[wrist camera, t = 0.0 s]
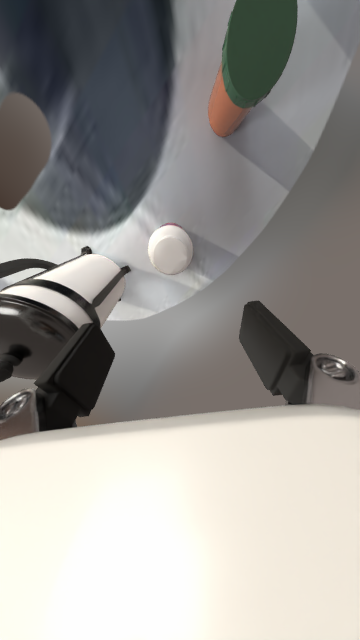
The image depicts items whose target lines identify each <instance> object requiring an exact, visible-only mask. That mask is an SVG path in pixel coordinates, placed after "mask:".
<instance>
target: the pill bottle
mask: <svg viewBox="0 0 360 640" xmlns="http://www.w3.org/2000/svg"><path fill="white" fill-rule="evenodd" d="M148 255H149V258H150V261H151V263H152V264H153V266H154V267H155V268H156V269H157V270H158V271H160V272H162V273H164V274H168V275H175V274H179V273H181V272H183V271H184V270H185V269H186V268H187V267H188V266H189V264H190V262H191V260H192V257H193V245H192V241H191V239H190V237H189V236H188V234H187V233H186V232H185V230H184V229H183V228H182V227H181V226H179V225H178V224H175V223H166V224H164V225H162V226H161V227H159V228H158V229H157V230H156V231H155V232H154V233H153V235H152V236H151V238H150V240H149V244H148Z"/></svg>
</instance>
